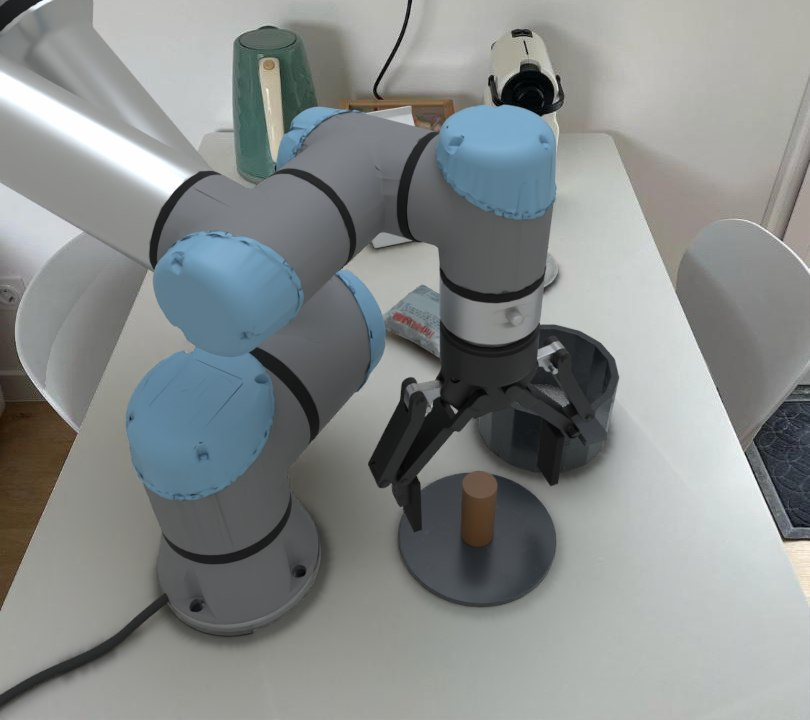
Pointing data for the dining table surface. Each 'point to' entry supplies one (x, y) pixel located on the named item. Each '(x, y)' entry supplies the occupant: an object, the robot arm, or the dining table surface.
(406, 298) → the packaged food
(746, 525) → the dining table surface
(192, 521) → the robot arm
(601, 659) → the dining table surface
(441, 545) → the lid
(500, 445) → the pot
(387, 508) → the dining table surface
